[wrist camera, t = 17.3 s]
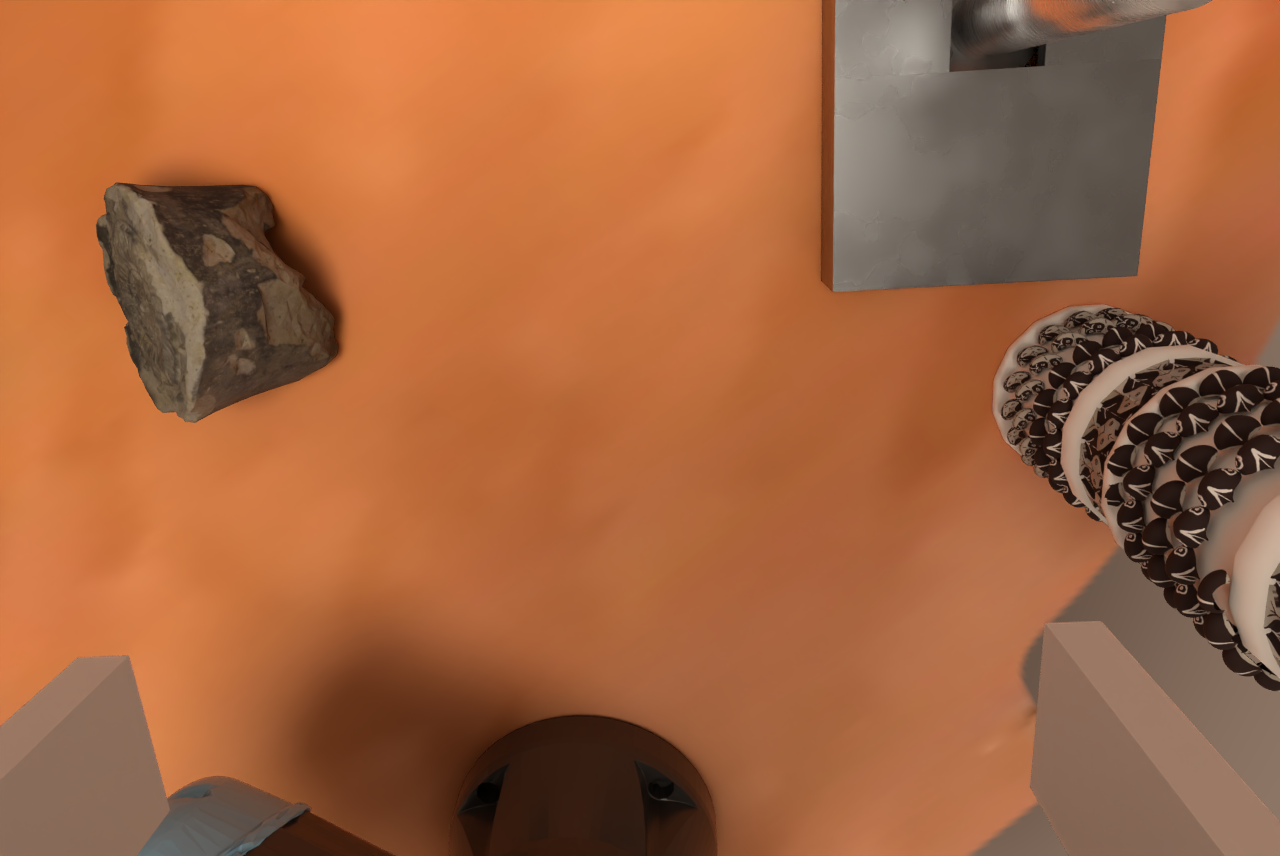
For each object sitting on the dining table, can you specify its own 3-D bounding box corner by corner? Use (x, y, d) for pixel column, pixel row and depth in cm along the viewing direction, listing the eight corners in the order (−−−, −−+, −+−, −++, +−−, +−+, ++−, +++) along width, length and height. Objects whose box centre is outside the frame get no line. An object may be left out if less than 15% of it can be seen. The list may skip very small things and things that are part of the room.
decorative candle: (1146, 488, 45) (1675, 881, 22) (963, 466, 45) (1292, 836, 21) (1203, 309, 42) (1886, 533, 19) (1008, 285, 42) (1445, 479, 19)
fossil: (52, 241, 42) (-7, 203, 33) (236, 160, 45) (229, 104, 36) (184, 439, 45) (163, 455, 36) (350, 351, 48) (371, 345, 39)
